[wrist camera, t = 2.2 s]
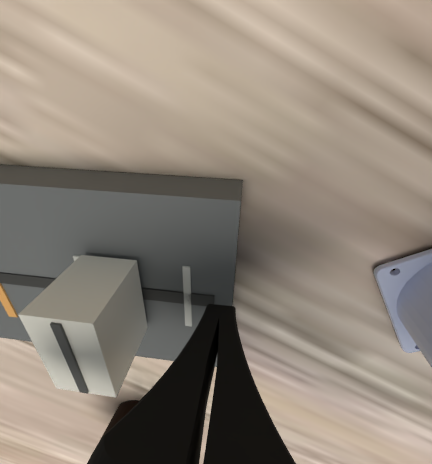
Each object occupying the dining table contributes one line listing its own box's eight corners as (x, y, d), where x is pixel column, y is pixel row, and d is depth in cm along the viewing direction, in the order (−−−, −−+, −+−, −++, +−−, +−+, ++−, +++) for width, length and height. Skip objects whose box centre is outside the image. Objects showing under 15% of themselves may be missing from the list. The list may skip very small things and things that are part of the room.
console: (242, 180, 13) (240, 201, 10) (230, 330, 19) (226, 369, 16) (-41, 162, 15) (-106, 176, 12) (28, 306, 21) (-5, 337, 18)
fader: (136, 260, 12) (91, 326, 9) (147, 327, 15) (115, 399, 11) (81, 254, 13) (15, 316, 9) (100, 321, 15) (55, 390, 12)
